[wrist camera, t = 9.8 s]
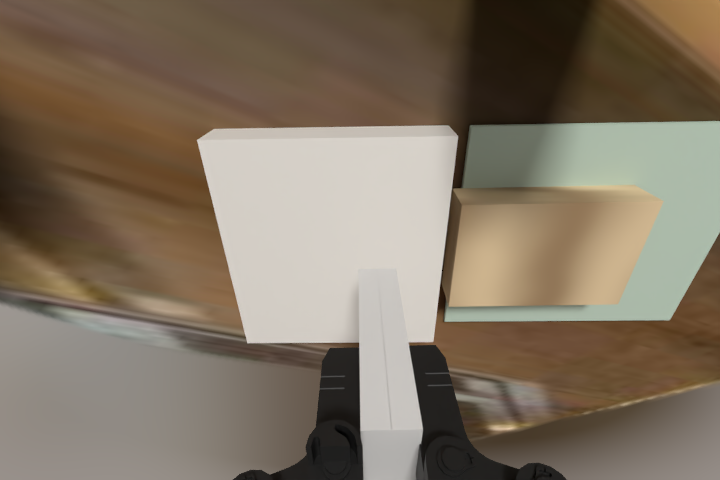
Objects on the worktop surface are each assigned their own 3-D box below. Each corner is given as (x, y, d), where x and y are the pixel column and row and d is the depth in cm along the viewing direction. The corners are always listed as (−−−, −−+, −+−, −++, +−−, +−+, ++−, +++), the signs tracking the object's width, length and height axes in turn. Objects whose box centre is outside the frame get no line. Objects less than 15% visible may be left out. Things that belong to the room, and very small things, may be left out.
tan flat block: (441, 284, 21) (448, 306, 19) (452, 188, 18) (462, 205, 16) (596, 281, 21) (618, 304, 19) (634, 184, 18) (663, 201, 16)
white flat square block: (256, 319, 23) (247, 343, 21) (214, 128, 17) (197, 140, 15) (427, 318, 23) (433, 342, 21) (448, 125, 17) (458, 136, 15)
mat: (443, 318, 23) (444, 321, 22) (469, 125, 16) (471, 126, 16) (666, 316, 22) (669, 320, 22) (775, 120, 16) (782, 121, 16)
